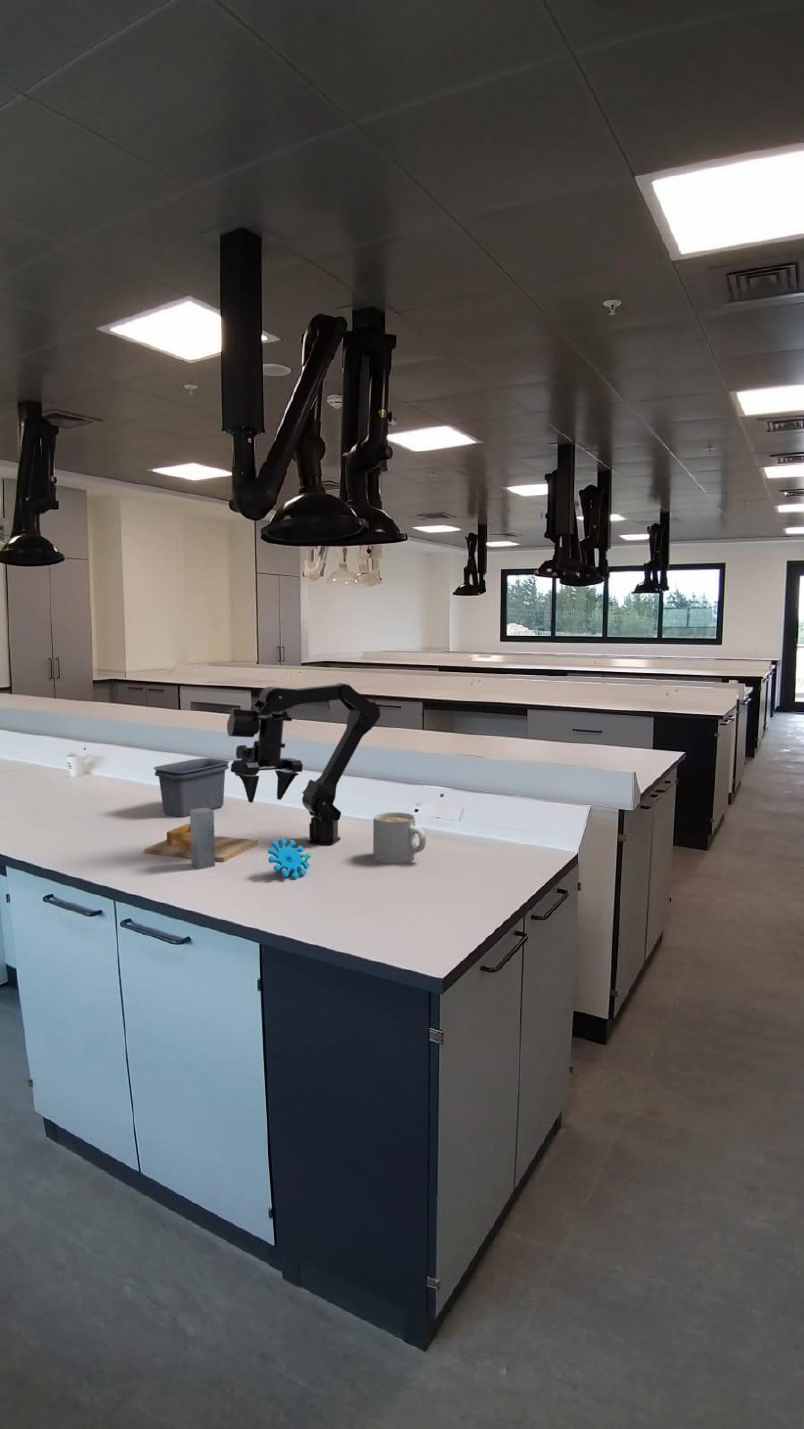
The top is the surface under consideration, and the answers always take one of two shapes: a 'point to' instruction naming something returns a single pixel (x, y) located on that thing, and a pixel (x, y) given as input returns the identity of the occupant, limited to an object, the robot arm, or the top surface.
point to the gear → (289, 858)
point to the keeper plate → (181, 845)
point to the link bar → (202, 838)
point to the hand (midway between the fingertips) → (265, 800)
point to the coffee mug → (396, 838)
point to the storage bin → (192, 785)
